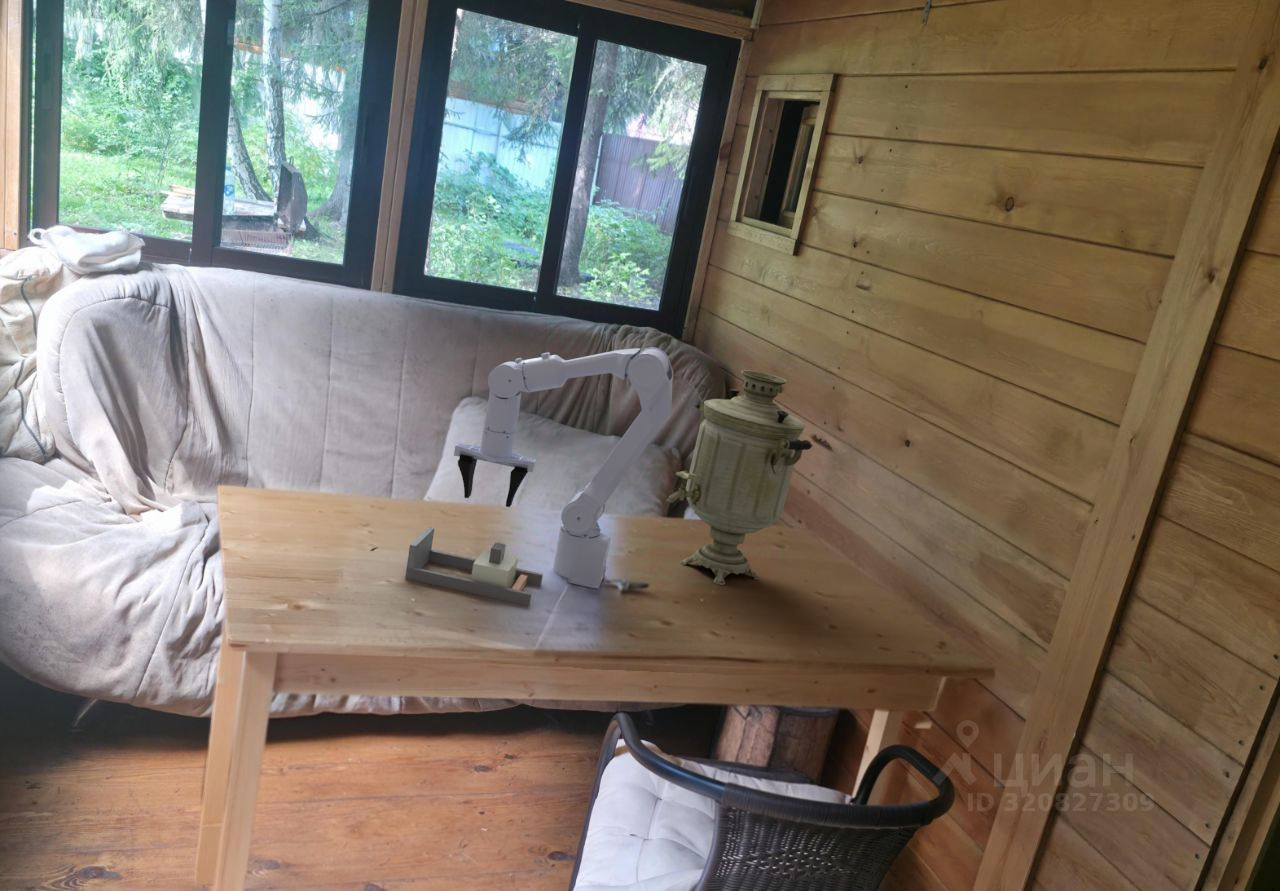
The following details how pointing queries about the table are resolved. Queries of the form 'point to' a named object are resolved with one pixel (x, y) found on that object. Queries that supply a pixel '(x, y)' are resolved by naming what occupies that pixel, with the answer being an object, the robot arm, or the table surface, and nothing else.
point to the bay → (423, 553)
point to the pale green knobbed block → (495, 567)
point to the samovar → (740, 470)
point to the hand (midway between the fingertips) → (488, 500)
